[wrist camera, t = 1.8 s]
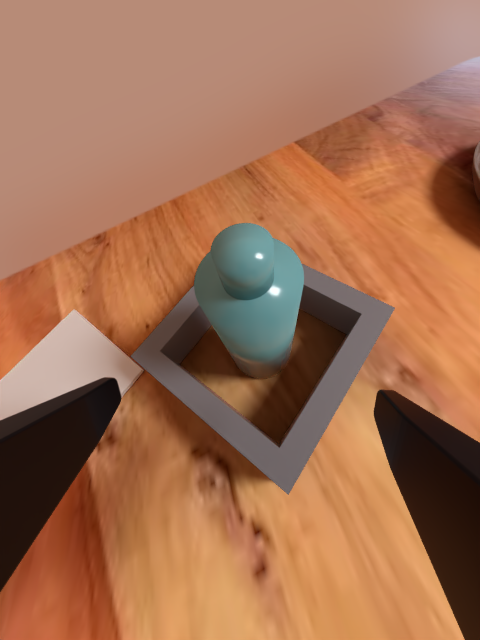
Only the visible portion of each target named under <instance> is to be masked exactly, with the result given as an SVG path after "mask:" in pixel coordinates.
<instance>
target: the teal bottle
mask: <svg viewBox="0 0 480 640" xmlns="http://www.w3.org/2000/svg"><path fill="white" fill-rule="evenodd" d="M303 285H304V271H303V267H302V264H301V262H300V260H299V258H298V256H297V255H296V254H295V252H294V251H293V250H292V249H291V248H290V247H289V246H287V245H286V244H284V243H283V242H281V241H279V240H277V239H274V238H272V236H271V235H270V233H269V232H268V231H267V230H266V229H264V228H263V227H261V226H259V225H256V224H251V223H240V224H235V225H232V226H230V227H228V228H226V229H224V230H223V231H221V232H220V233H219V234H218V235H217V236H216V237H215V239H214V241H213V243H212V246H211V251H210V252H209V253H208V254H207V255H206V256H205V257H204V259H203V260H202V261H201V263H200V265H199V267H198V269H197V271H196V275H195V280H194V290H195V295H196V299H197V301H198V303H199V305H200V307H201V308H202V310H203V311H204V313H205V315H206V316H207V318H208V320H209V321H210V323H211V324H212V326H213V328H214V329H215V331H216V333H217V334H218V336H219V337H220V339H221V341H222V342H223V344H224V346H225V347H226V349H227V350H228V352H229V354H230V355H231V357H232V358H233V360H234V362H235V363H236V365H237V366H238V368H239V369H240V370H241V371H242V372H243V373H244V374H246V375H248V376H250V377H252V378H257V379H267V378H271V377H273V376H275V375H277V374H279V373H280V372H281V371H282V370H283V369H284V368H285V367H286V365H287V363H288V361H289V358H290V354H291V348H292V343H293V338H294V333H295V327H296V322H297V317H298V311H299V306H300V301H301V296H302V290H303Z"/></svg>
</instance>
